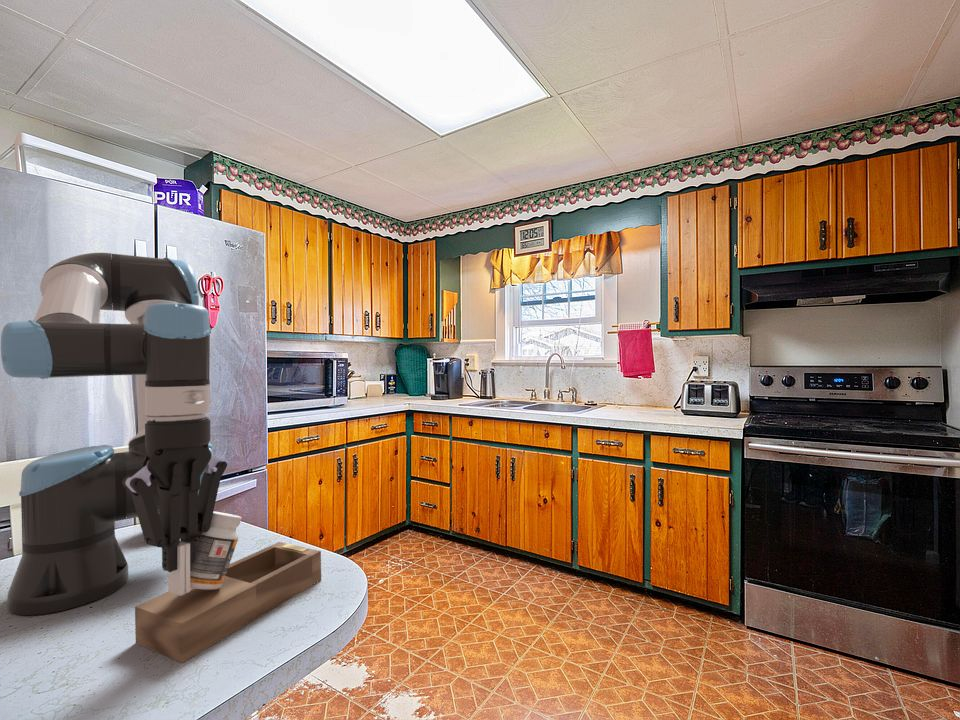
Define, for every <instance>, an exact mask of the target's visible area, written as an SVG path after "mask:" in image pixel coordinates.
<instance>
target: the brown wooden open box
mask: <svg viewBox="0 0 960 720" xmlns="http://www.w3.org/2000/svg"><path fill="white" fill-rule="evenodd" d="M319 580H320V581H322V551H321V550H316V549H312V548H309V547H304V546H300V545H296V544H292V543H286V542H281V541H279V542H276V543H274V544H272V545H269V546H267V547H264V548H263V549H261V550H258V551H256V552H254V553H251V554H249V555H247V556H245V557H242V558H240V559H237V560H235V561H234V562H230V564H229V567H228V570H227V573H226V576H225V579H224V581H223V584H222V586H221V587H220V588H218V589H214V590H204V589H195V588H190V592H188V593H186V594H183V595H181V596H180V595H177V594H174V593H171V592H168V591H166V592H163V593H162V594H160V595H157V596H155V597H153V598H151V599H148V600H146V601H143V602H142V603H139V604H137V605H135V606H134V621H135V622H134V626H135V627H134V628H135V629H134V630H135V644H137V645H140V646H142V647H144V648H147V649H149V650H150V651H154V652H156V653H158V654H161V655H163V656H165V657H167V658H170V659H172V660H175V661H176V662H180V663H184V662H186V661H189V659H190V658H193V657H194V656H196V655H198V654H199V653H201V652H202V651H204V650H206V649H208V648H210V647H211V646H213V645H214V644H216V643H218V642H220V641H222V640H223V639H225V638H227V637H228V636H230V635H231V634H233V633H235V632H236V631H238V630H240V629H242V628H243V627H245V626H247V625H249V624H250V623H252V622H253V621H255V620H256V619H258V618H259V617H261V616H263V615H265V614H267V613H268V612H270V611H271V610H274V609H275V608H277V607H278V606H280V605H281V604H283V603H285V602H287V601H288V600H290V599H292V598H293V597H295V596H297V595H299V594H300V593H302V592H303V591H306V590H307V589H309V588H310V587H312V586H314V585H315V584H317V583H318V582H317V581H319ZM320 581H319V582H320ZM316 582H317V583H316ZM314 583H315V584H314ZM313 584H314V585H313Z"/></svg>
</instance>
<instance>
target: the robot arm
mask: <svg viewBox="0 0 960 720" xmlns="http://www.w3.org/2000/svg"><path fill="white" fill-rule="evenodd" d="M39 287H40V288H39V289H40V293H41V296H42V298H41V301H40V304H39V306H38V309H37V311H36V314H35V316H34V319H33V320H27V321H12V322H11V321H9V322H7V323H6V324H5V325H4V326H3V327H2V330H1V333H0V335H1V337H0V356H1V357H0V358H1V365H2V369H3V370H4V372H5V374H7V375H8V376H10V377H13V378H18V379H19V378H24V379H26V378H29V379H30V378H31V379H32V378H38V379H42V380H44V379H51V378H53V379H54V378H75V377H77V378H78V377H79V378H81V377H102V376H103V377H104V376H135V377H136V402H137V404H136V405H137V427H138V430H137V431H138V433H137V434H135V436H133V437H132V438H131V439H130V440H129V441H128V451H124V452H123V451H122V452H115V449H114V448H113V446H112V445H109V444H101V445H92V446H86V447H80V448H76V449H71V450H66V451H65V450H64V451H61V452H57V453H53V454H50V455H47V456H43V457H40V458H38V459H36V460H33V461H31V462H29V463H28V464H26V465H25V467H24V468H23V469H22V471H21V480H20V491H19V492H18V497H19V496H20V502H21V503H20V505H21V507H20V509H21V511H20V512H21V546H22V547H21V549H22V550H21V558H20V561H19V562H18V563H19V564H18V566H17V569H16V570H15V574H14V576H13V579H12V581H11V584H10V586H9V589H8V592H7V610H8V611H9V613H11V614H14V615H19V616H20V615H21V616H36V615H44V614H45V615H46V614H51V613H58V612H61V611H66V610H70V609H74V608H77V607H80V606H85V605H86V604H89V603H92V602H95V601H97V600H100V599H102V598H104V597H106V596H108V595H110V594H112V593H114V592H116V591H117V590H119V589H121V588H122V587H123V586H124V585H125V584H126V583H127V581H128V580H129V564H128V562H127V559H126V557H125V555H124V553H123V551H122V548H121V547H120V544H119V542H118V540H117V538H116V533H115V532H116V531H115V530H116V529H115V526H116V524H115V523H116V522H118V521H122V520H123V521H124V520H128V519H129V520H130V519H136V518H138V521H139V526H140V529H141V532H142V534H143V539H144V542H145V544H146V545H149V546H152V547H156V548H161V562H162V563H161V568H162V569H163V571H164V572H167V574H168V576H167V583H168V588H167V592H171V593H174V594H177V595H180V596H181V595H183V594H186V593H188V592H190V564H193V563H194V561H195V542H198V541H199V540H200V539H201V536H199V535H200V534H202V533H203V532H207V531H208V530H209V529H210V525H211V520H212V516H213V511H214V510H215V505H216V502H217V498H218V497H217V496H218V492H219V488H220V482H221V479H222V476H223V475H224V473H225V471H226V470H227V467H228V462H226V461H225V460H224V461H223V460H218V459H217V458H214V452H213V451H214V450H213V444H212V443H210V441H211V419H209V417H208V416H206V415H207V414H209V413H210V411H211V386H210V385H211V384H210V383H211V381H210V367H211V366H210V361H211V359H210V358H211V357H210V356H211V355H210V354H211V353H210V352H211V351H210V349H211V347H210V346H211V341H210V339H211V334H212V328H211V327H210V326H211V325H210V313H209V311H208V309H207V308H206V307H204V306H202V305H200V304H199V303H200V299H199V293H198V292H199V291H198V290H199V287H198V282H197V277H196V275H195V271H194V269H193V267H192V266H191V265H190V264H189V263H188V262H186V261H185V260H184V261H183V260H179V259H171V258H169V257H163V258H158V257H150V256H149V257H148V256H139V255H130V254H129V255H128V254H121V253H120V254H119V253H111V252H91V253H83V254H77V255H75V256H71V257H69V258H65V259H63V260H60V261H59V262H56V263H54V264H53V265H52V266H50V267H49V268H48V269H47V270H46V271H45V273H44V274H43V276H42V278H41V280H40V286H39ZM101 311H114V312H115V311H116V312H118V311H119V312H124V317H125V320H127V322H129V323H102V322H101V323H100V316H101V315H100V314H101ZM159 513H160V518H159Z"/></svg>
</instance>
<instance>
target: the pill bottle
mask: <svg viewBox="0 0 960 720" xmlns="http://www.w3.org/2000/svg"><path fill="white" fill-rule="evenodd" d="M242 518H243V517H242V516H239V515H236V514H231V513H226V512H220V511H213V516H212V520H211V525H210V529H209V530H208V531H207V532H203V533H202V534H200V535H199V536H201V539H200V540H199V541H198V542H195V561H194V563H193V564H190V588H195V589H204V590H214V589H218V588H220V587H221V586H222V584H223V581H224V579H225V576H226V573H227V570H228V567H229V564H231V561H232V557H233V555H234V552H235V550H236V547H237V544H238V541H239V533H238V532H237V528H238V527H239V526H240V525H241V521H242Z"/></svg>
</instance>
